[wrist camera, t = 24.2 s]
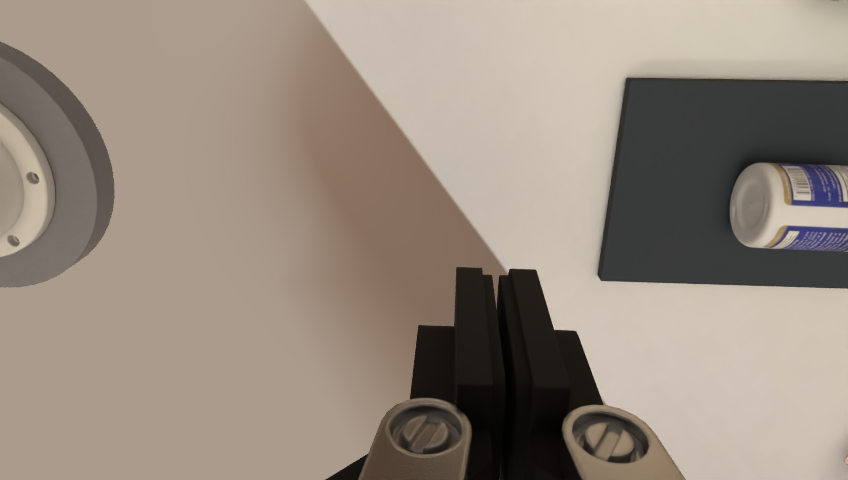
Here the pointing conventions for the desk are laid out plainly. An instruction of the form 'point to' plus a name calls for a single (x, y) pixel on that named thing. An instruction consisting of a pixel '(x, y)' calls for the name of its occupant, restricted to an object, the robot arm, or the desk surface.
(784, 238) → the pill bottle
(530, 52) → the desk surface
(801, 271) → the mat
